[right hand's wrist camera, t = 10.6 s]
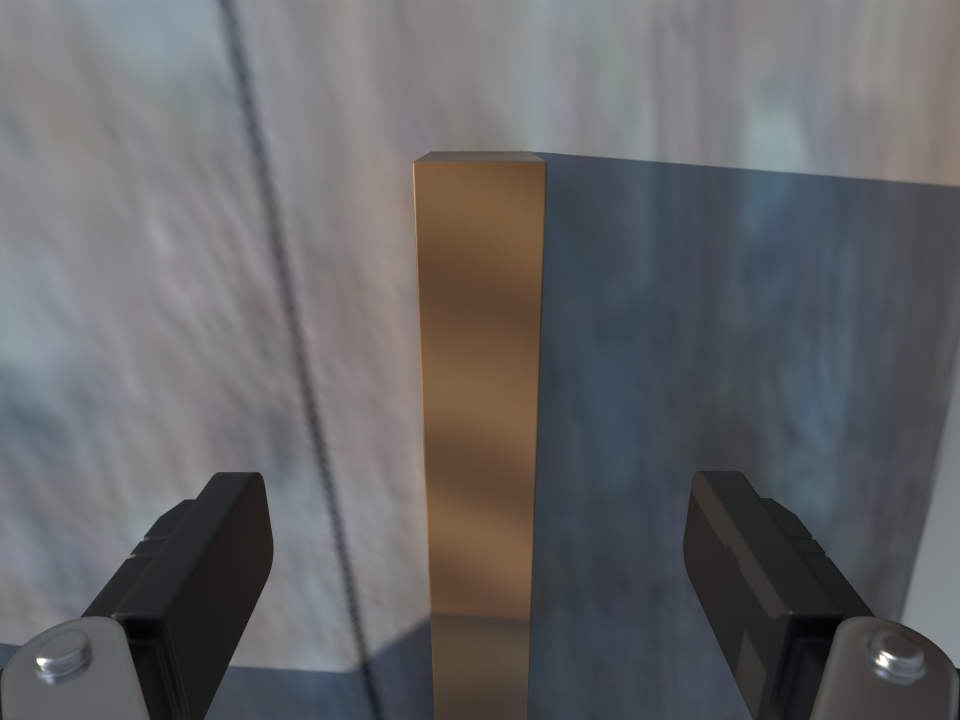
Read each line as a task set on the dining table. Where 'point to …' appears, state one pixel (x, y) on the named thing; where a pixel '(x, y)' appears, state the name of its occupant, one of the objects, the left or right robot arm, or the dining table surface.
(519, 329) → the bar
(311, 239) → the dining table surface
